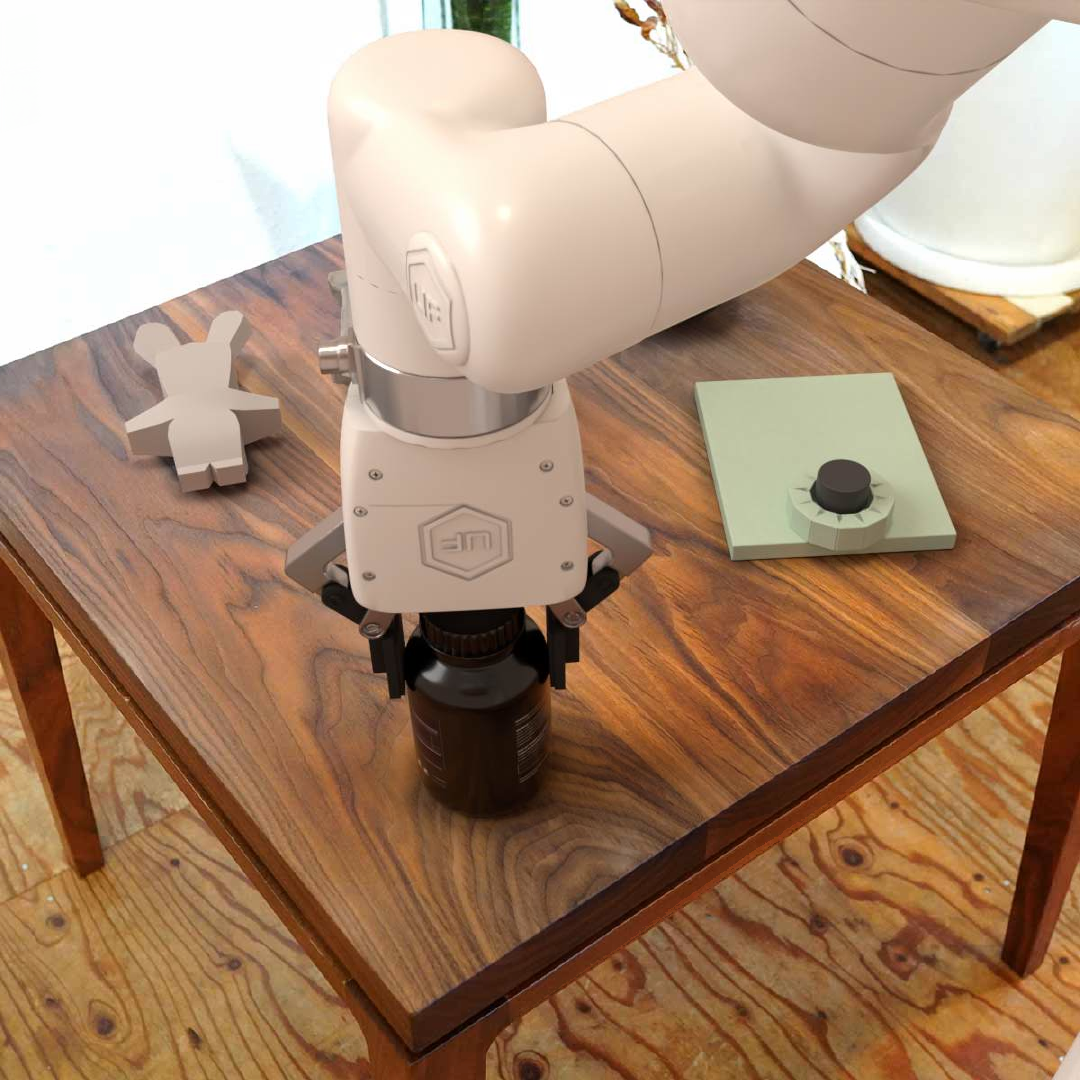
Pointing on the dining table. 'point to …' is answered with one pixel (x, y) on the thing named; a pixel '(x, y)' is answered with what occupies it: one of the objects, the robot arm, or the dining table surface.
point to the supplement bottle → (480, 708)
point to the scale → (818, 466)
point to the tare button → (842, 486)
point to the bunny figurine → (201, 404)
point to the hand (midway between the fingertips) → (477, 670)
